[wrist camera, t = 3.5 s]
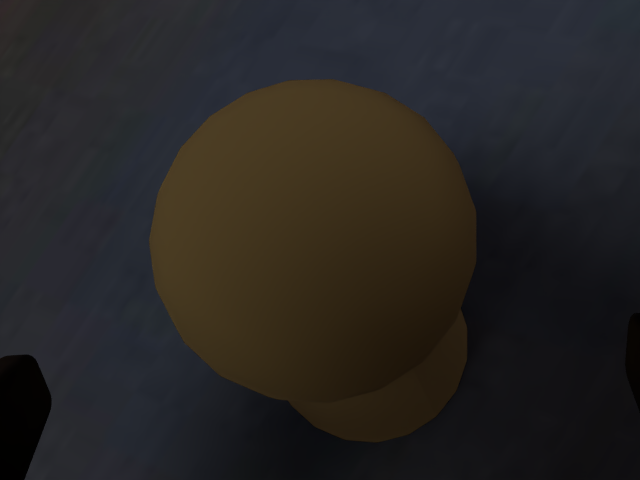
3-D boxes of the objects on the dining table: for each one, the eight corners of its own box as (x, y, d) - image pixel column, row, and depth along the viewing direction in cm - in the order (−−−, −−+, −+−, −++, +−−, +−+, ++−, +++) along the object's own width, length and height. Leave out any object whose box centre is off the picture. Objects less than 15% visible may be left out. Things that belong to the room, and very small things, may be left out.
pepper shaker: (243, 291, 20) (45, 115, 10) (414, 214, 20) (399, -47, 9) (312, 476, 18) (150, 508, 7) (505, 392, 17) (616, 302, 7)
